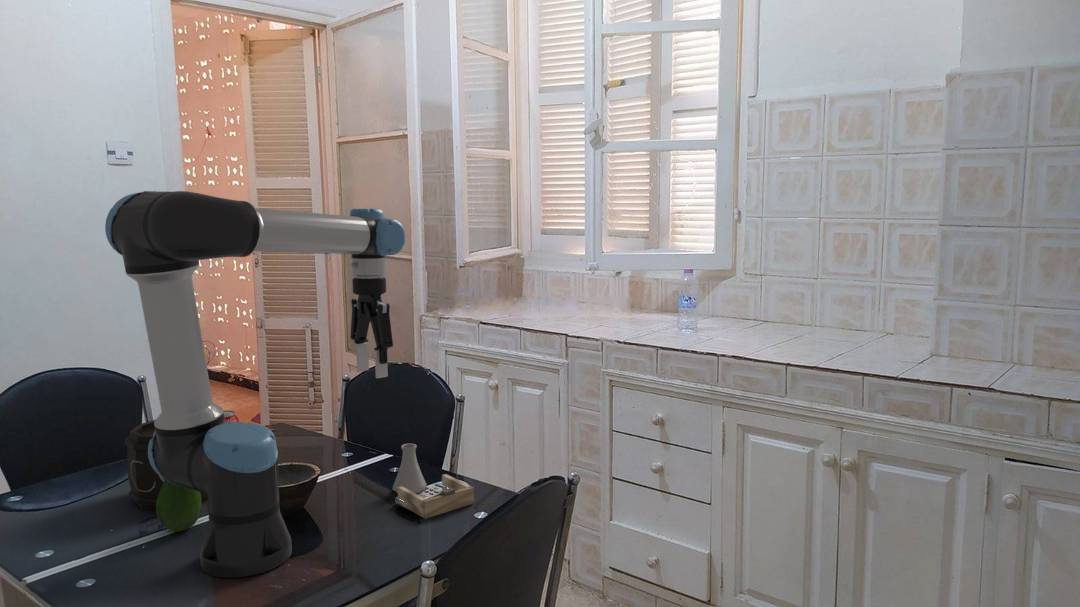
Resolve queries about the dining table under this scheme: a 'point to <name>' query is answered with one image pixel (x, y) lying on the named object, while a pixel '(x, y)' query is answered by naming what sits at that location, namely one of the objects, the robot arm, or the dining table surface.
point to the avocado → (178, 506)
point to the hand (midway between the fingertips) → (372, 373)
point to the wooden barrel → (144, 468)
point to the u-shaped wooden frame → (438, 498)
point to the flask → (409, 471)
